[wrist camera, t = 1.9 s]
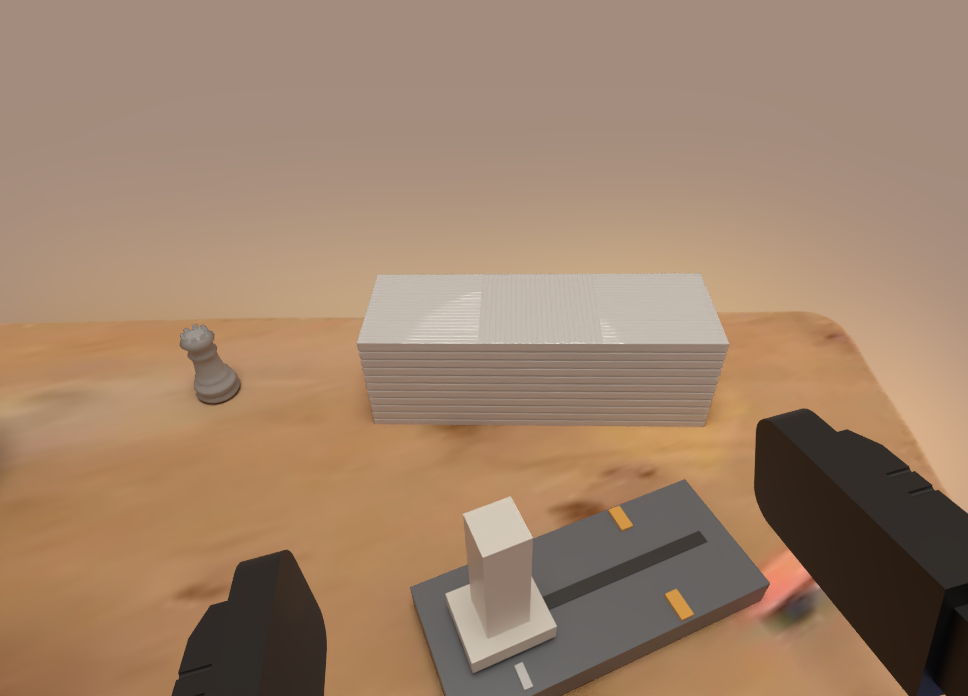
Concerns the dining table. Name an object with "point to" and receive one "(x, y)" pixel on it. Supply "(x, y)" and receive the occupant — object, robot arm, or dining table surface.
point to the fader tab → (498, 588)
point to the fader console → (605, 595)
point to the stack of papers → (542, 349)
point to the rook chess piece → (208, 366)
